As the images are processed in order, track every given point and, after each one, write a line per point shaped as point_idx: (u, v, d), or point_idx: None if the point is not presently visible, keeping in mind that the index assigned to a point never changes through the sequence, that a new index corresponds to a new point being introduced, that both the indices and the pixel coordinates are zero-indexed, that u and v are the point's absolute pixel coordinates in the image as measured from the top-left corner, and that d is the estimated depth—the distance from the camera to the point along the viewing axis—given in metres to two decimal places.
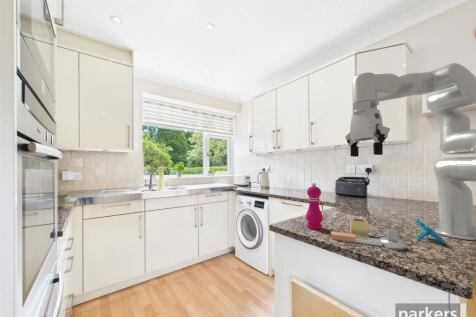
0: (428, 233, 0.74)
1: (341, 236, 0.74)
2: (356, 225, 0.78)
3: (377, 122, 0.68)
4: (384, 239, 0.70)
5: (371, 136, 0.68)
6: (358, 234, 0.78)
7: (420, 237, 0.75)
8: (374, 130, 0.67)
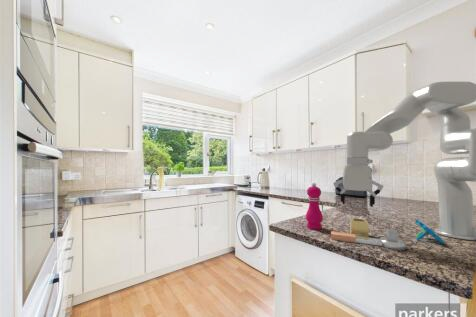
0: (427, 233, 0.74)
1: (341, 236, 0.74)
2: (356, 225, 0.78)
3: (371, 178, 0.79)
4: (384, 239, 0.70)
5: (369, 190, 0.78)
6: (358, 234, 0.78)
7: (419, 237, 0.75)
8: None
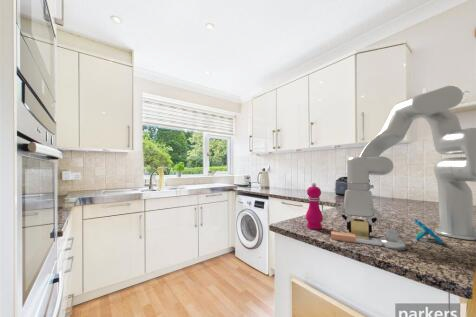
0: (427, 233, 0.74)
1: (341, 236, 0.74)
2: (356, 225, 0.78)
3: (373, 205, 0.78)
4: (384, 239, 0.70)
5: (371, 216, 0.77)
6: (358, 234, 0.78)
7: (419, 237, 0.75)
8: (373, 211, 0.77)
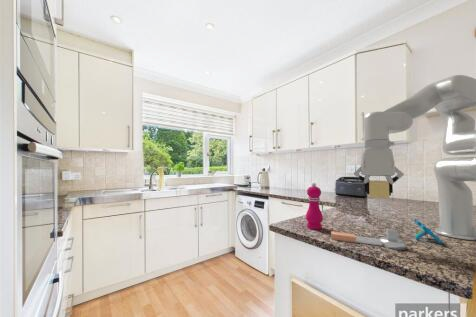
0: (426, 233, 0.74)
1: (341, 236, 0.74)
2: (375, 185, 0.72)
3: None
4: (384, 239, 0.70)
5: (391, 175, 0.71)
6: (377, 195, 0.71)
7: (418, 237, 0.75)
8: (394, 169, 0.71)
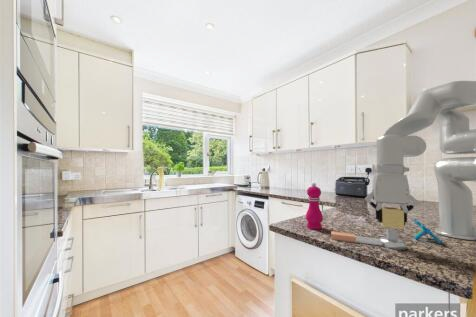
0: (425, 233, 0.74)
1: (341, 236, 0.74)
2: (389, 213, 0.67)
3: None
4: (384, 239, 0.70)
5: (406, 203, 0.66)
6: (391, 224, 0.67)
7: (417, 236, 0.76)
8: (409, 198, 0.66)
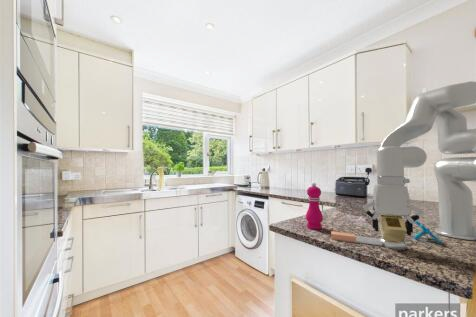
0: (424, 232, 0.74)
1: (341, 236, 0.74)
2: (390, 232, 0.66)
3: None
4: None
5: (407, 215, 0.66)
6: (391, 238, 0.67)
7: (416, 236, 0.76)
8: (410, 209, 0.66)
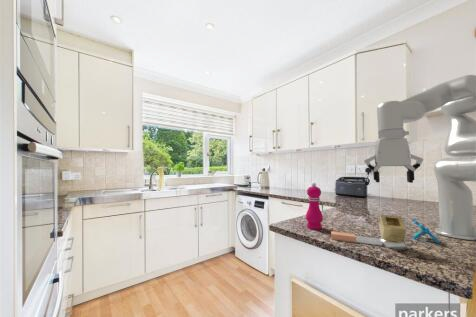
0: (424, 232, 0.75)
1: (341, 236, 0.74)
2: (390, 231, 0.66)
3: None
4: None
5: (407, 164, 0.70)
6: (391, 238, 0.67)
7: (416, 236, 0.76)
8: (410, 159, 0.70)
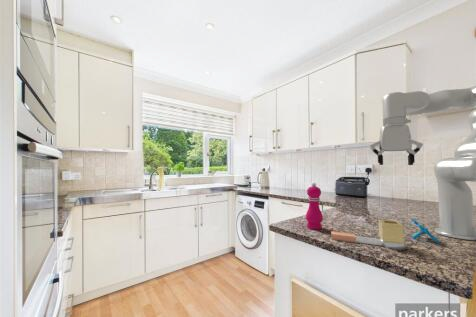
0: (423, 232, 0.75)
1: (341, 236, 0.74)
2: (388, 228, 0.68)
3: None
4: None
5: (408, 149, 0.79)
6: (391, 238, 0.67)
7: (415, 236, 0.76)
8: (411, 144, 0.79)
